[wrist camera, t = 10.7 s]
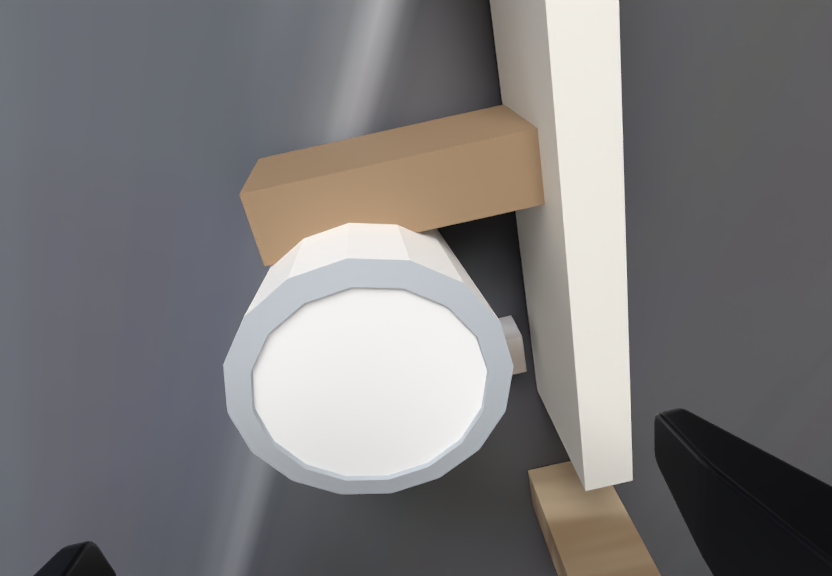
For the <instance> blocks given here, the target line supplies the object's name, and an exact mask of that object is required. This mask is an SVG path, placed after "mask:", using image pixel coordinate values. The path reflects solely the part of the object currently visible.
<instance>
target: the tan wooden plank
mask: <svg viewBox="0 0 832 576" xmlns="http://www.w3.org/2000/svg"><path fill="white" fill-rule="evenodd" d="M498 319H499V320H500V323H501V326H502V329H503V333H504V336H505V339H506V343H507V346H508V349H509V353H510V356H511V359H512V363H513V366H514V367H513V373H512V375H514V374H518V373H522V372H527V370H526V363H525V355H524V347H523V340H522V335H521V333H520V331H519V330H518V328H517V326H516V324H515V322H514V320H513V318H512V316H511V315H510V316H506V317H501V318H498ZM528 475H529V482H530V489H531V496H532V503H533V508H534V510H535V513H536V516H537V519H538V521H539V524H540V527H541V530H542V532H543V535H544V538H545V541H546V544H547V546H548V549H549V552H550V555H551V557H552V560H553V563H554V566H555V568H556V571H557V574H558V576H661V575H660V573H659V571H658V569H657V567H656V565H655V563H654V562H653V560H652V558H651V556H650V554H649V552H648V550H647V549H646V547H645V545H644V543H643V541H642V539H641V537H640V536H639V534H638V532H637V530H636V528H635V526H634V524H633V523H632V521H631V519H630V517H629V515H628V513H627V511H626V510H625V508H624V506H623V504H622V502H621V500H620V498H619V497H618V495H617V493H616V491H615V489H614V487H613V485H610V486H606V487H602V488H597V489H593V490H588V491H585V489H584V487H583V485H582V483H581V481H580V479H579V476H578V474H577V472H576V470H575V468H574V466H573V464H572V462H571V461H568V462H563V463H559V464H554V465H550V466H546V467H541V468H537V469H532V470H528Z"/></svg>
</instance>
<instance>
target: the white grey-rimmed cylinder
mask: <svg viewBox="0 0 832 576" xmlns="http://www.w3.org/2000/svg"><path fill="white" fill-rule="evenodd" d="M223 367H224V379H225V391H226V403H227V413H228V414H229V416H230V417H231V419H232V421H233V422H234V424H235V426H236V427H237V429H238V430H239V432H240V434H241V435H242V437H243V439H244V440H245V442H246V443H247V445H248V447H249V448H250V450H251V451H252V453H254V454H255V455H256V456H258V457H259V458H261V459H262V460H264V461H265V462H266V463H268V464H269V465H271V466H272V467H273V468H275V469H276V470H278V471H279V472H281V473H282V474H283V475H285V476H286V477H288V478H289V479H290V480H292V481H295V482H299V483H302V484H306V485H309V486H313V487H316V488H320V489H323V490H327V491H331V492H334V493H338V494H380V493H394V492H397V491H400V490H403V489H406V488H410V487H413V486H416V485H419V484H422V483H425V482H428V481H431V480H434V479H438V478H440V477H442V476H443V475H444V474H446V473H447V472H449V471H450V470H451V469H453V468H454V467H456V466H457V465H458V464H460V463H461V462H463V461H464V460H465V459H467V458H468V457H470V456H471V455H472V454H474V453H475V452H477V451H478V450H479V449H480V448H481V446H482V445H483V443H484V442H485V441H486V439H487V438H488V436H489V435H490V433H491V432H492V430H493V429H494V427H495V426H496V424H497V423H498V422H499V420H500V419H501V417H502V416H503V414H504V413H505V411H506V406H507V400H508V395H509V389H510V384H511V378H512V373H513V367H514V366H513V363H512V359H511V356H510V353H509V349H508V346H507V343H506V339H505V336H504V333H503V329H502V326H501V323H500V320H499V319H498V317H497V316H496V315H495V313H494V312H493V310H492V309H491V307H490V306H489V304H488V303H487V301H486V300H485V298H484V297H483V295H482V294H481V293H480V291H479V290H478V288H477V287H476V285H475V284H474V282H473V281H472V279H471V278H470V276H469V275H468V274H467V272H466V271H465V269H464V268H463V266H462V265H461V263H460V262H459V260H458V259H457V257H456V256H455V255H454V253H453V252H452V250H451V249H450V247H449V246H448V244H447V243H446V241H445V240H444V238H443V237H442V235H441V234H440V233H439V231H438V230H437V228H435V229H431V230H426V231H422V232H417V233H415V232H413V231H411V230H408V229H406V228H404V227H402V226H399V225H395V224H368V223H347V224H344V225H341V226H338V227H335V228H333V229H330V230H327V231H324V232H321V233H318V234H315V235H312V236H310V237H307V238H304V239H303V240H301V241H300V242H299V243H298V244H297V245H296V246H295V247H294V248H292V249H291V250H290V251H289V252H288V253H287V254H286V255H285V256H283V257H282V258H281V259H280V260H279V261H278V262H277V263H276V264H273V265H272V266H271V267H270V269H269V271H268V273H267V275H266V277H265V279H264V280H263V282H262V284H261V286H260V288H259V290H258V292H257V293H256V295H255V297H254V299H253V301H252V303H251V305H250V307H249V308H248V310H247V312H246V314H245V316H244V318H243V320H242V322H241V325H240V327H239V329H238V332H237V334H236V336H235V339H234V341H233V343H232V346H231V348H230V350H229V353H228V355H227V357H226V360H225V362H224V364H223Z"/></svg>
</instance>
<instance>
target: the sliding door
mask: <svg viewBox="0 0 832 576" xmlns="http://www.w3.org/2000/svg"><path fill="white" fill-rule="evenodd" d="M490 7H491V16H492V24H493V32H494V40H495V48H496V57H497V65H498V73H499V81H500V89H501V98H502V105H499V106H494V107H490V108H485V109H481V110H476V111H472V112H467V113H463V114H458V115H454V116H449V117H445V118H440V119H436V120H431V121H427V122H422V123H418V124H413V125H409V126H404V127H400V128H395V129H391V130H386V131H382V132H377V133H373V134H368V135H363V136H359V137H354V138H350V139H345V140H341V141H336V142H332V143H327V144H323V145H318V146H314V147H309V148H305V149H300V150H296V151H291V152H287V153H282V154H278V155H273V156H269V157H264V158H260V159H258V161H257V163H256V165H255V167H254V168H253V170H252V172H251V174H250V176H249V178H248V179H247V181H246V183H245V185H244V187H243V188H242V190H241V192H240V194H239V195H240V198H241V201H242V203H243V206H244V209H245V212H246V215H247V218H248V221H249V223H250V226H251V229H252V232H253V235H254V238H255V240H256V243H257V246H258V249H259V252H260V255H261V258H262V260H263V263H264V266H269V265H273V264H276V263H277V262H278V261H279V260H280V259H281V258H282V257H283V256H285V255H286V254H287V253H288V252H289V251H290V250H291V249H292V248H294V247H295V246H296V245H297V244H298V243H299V242H300V241H301V240H303V239H304V238H307V237H310V236H312V235H315V234H318V233H321V232H324V231H327V230H330V229H333V228H335V227H338V226H341V225H344V224H347V223H368V224H395V225H399V226H402V227H404V228H406V229H408V230H411V231H413V232H415V233H417V232H422V231H426V230H431V229H435V228H440V227H444V226H449V225H453V224H458V223H462V222H467V221H471V220H476V219H480V218H485V217H489V216H494V215H498V214H503V213H507V212H512V211H515V212H516V221H517V229H518V237H519V245H520V253H521V262H522V270H523V278H524V286H525V294H526V303H527V311H528V319H529V327H530V335H531V344H532V352H533V360H534V368H535V376H536V385H537V391H538V393H539V395H540V397H541V399H542V401H543V403H544V405H545V407H546V409H547V412H548V414H549V416H550V418H551V420H552V422H553V424H554V426H555V428H556V430H557V432H558V435H559V437H560V439H561V441H562V443H563V445H564V447H565V449H566V451H567V453H568V456H569V458H570V460H571V462H572V464H573V466H574V468H575V470H576V472H577V474H578V476H579V479H580V481H581V483H582V485H583V487H584V489H585V491H588V490H593V489H597V488H602V487H606V486H610V485H615V484H619V483H624V482H628V481H633V473H632V438H631V403H630V369H629V334H628V300H627V265H626V231H625V196H624V161H623V127H622V92H621V58H620V23H619V0H490Z"/></svg>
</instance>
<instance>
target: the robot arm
mask: <svg viewBox="0 0 832 576" xmlns="http://www.w3.org/2000/svg"><path fill="white" fill-rule="evenodd" d="M654 435H655V457H656V461H657V464H658V467H659V469H660V471H661V473H662V475H663V477H664V479H665V481H666V483H667V485H668V487H669V489H670V491H671V494H672V496H673V498H674V500H675V502H676V504H677V506H678V508H679V510H680V512H681V514H682V516H683V518H684V520H685V522H686V525H687V527H688V529H689V531H690V533H691V535H692V537H693V539H694V541H695V543H696V545H697V547H698V549H699V551H700V553H701V555H702V557H703V558H704V560H705V562H706V564H707V565H708V567H709V569H710V570H711V572H712V574H713V575H714V576H832V486H830V485H828V484H826V483H824V482H822V481H820V480H818V479H817V478H815V477H813V476H811V475H809V474H807V473H805V472H803V471H801V470H799V469H798V468H796V467H794V466H792V465H790V464H788V463H786V462H784V461H782V460H780V459H779V458H777V457H775V456H773V455H771V454H769V453H767V452H765V451H763V450H761V449H759V448H758V447H756V446H754V445H752V444H750V443H748V442H746V441H744V440H742V439H740V438H739V437H737V436H735V435H733V434H731V433H729V432H727V431H725V430H723V429H721V428H719V427H718V426H716V425H714V424H712V423H710V422H708V421H706V420H704V419H702V418H700V417H699V416H697V415H695V414H693V413H691V412H689V411H687V410H685V409H674V410H669V411H665V412H660V413H658V414H657V415H656V417H655V421H654ZM34 576H116V573H115V572H114V570H113V568H112V567H111V565H110V564H109V562H108V561H107V559H106V558H105V556H104V555H103V553H102V552H101V550H100V549H99V547H98V546H97V545H96V544H95V543H93V542H89V541H87V542H82V543H78V544H73V545H69V546H66V547H64V548H62V549H61V550H60V551H59V552H58V553H57V554H56V555H55V556H53V557H52V558H51V559H50V560H49V561H48V562H47V563H46V564H45V565H44V566H43V567H42V568H41V569H40V570H39V571H38V572H37V573H36V574H35V575H34Z"/></svg>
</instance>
